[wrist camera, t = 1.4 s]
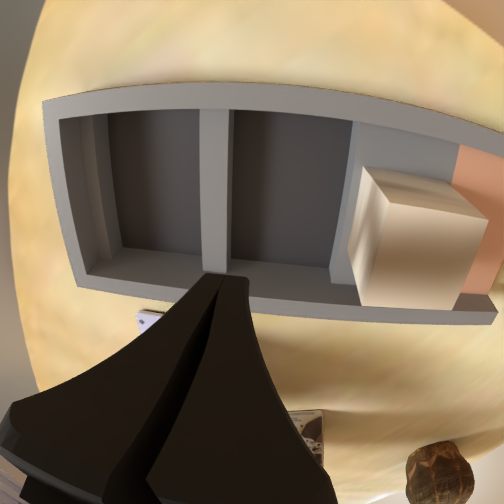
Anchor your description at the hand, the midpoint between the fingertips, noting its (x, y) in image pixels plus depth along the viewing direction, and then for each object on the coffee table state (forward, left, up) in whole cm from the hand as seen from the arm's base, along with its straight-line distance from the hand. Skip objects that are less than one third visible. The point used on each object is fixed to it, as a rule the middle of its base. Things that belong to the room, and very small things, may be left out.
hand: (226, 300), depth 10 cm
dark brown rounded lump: (-38, -30, -11) cm, 50 cm away
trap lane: (0, -3, -10) cm, 11 cm away
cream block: (0, -8, -8) cm, 12 cm away
